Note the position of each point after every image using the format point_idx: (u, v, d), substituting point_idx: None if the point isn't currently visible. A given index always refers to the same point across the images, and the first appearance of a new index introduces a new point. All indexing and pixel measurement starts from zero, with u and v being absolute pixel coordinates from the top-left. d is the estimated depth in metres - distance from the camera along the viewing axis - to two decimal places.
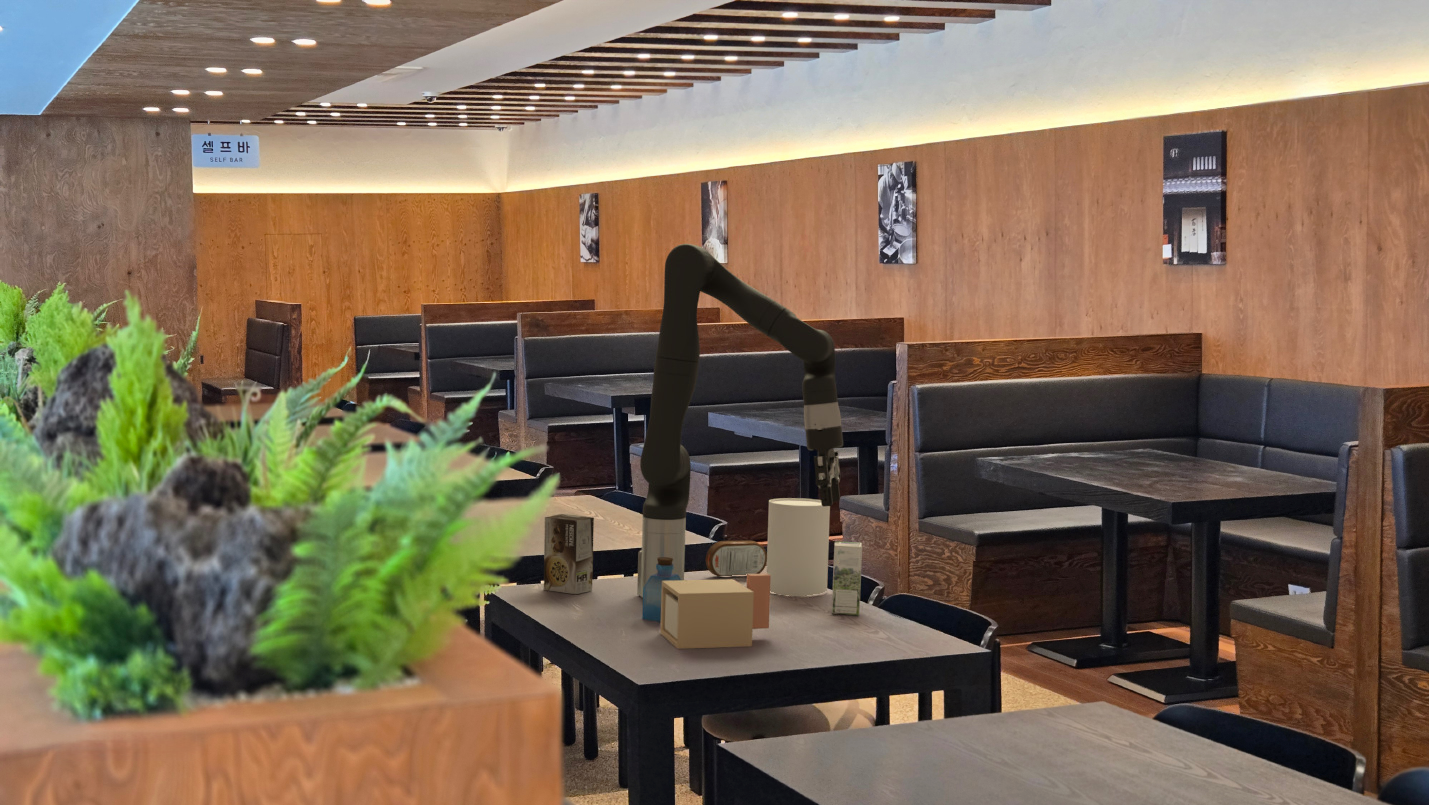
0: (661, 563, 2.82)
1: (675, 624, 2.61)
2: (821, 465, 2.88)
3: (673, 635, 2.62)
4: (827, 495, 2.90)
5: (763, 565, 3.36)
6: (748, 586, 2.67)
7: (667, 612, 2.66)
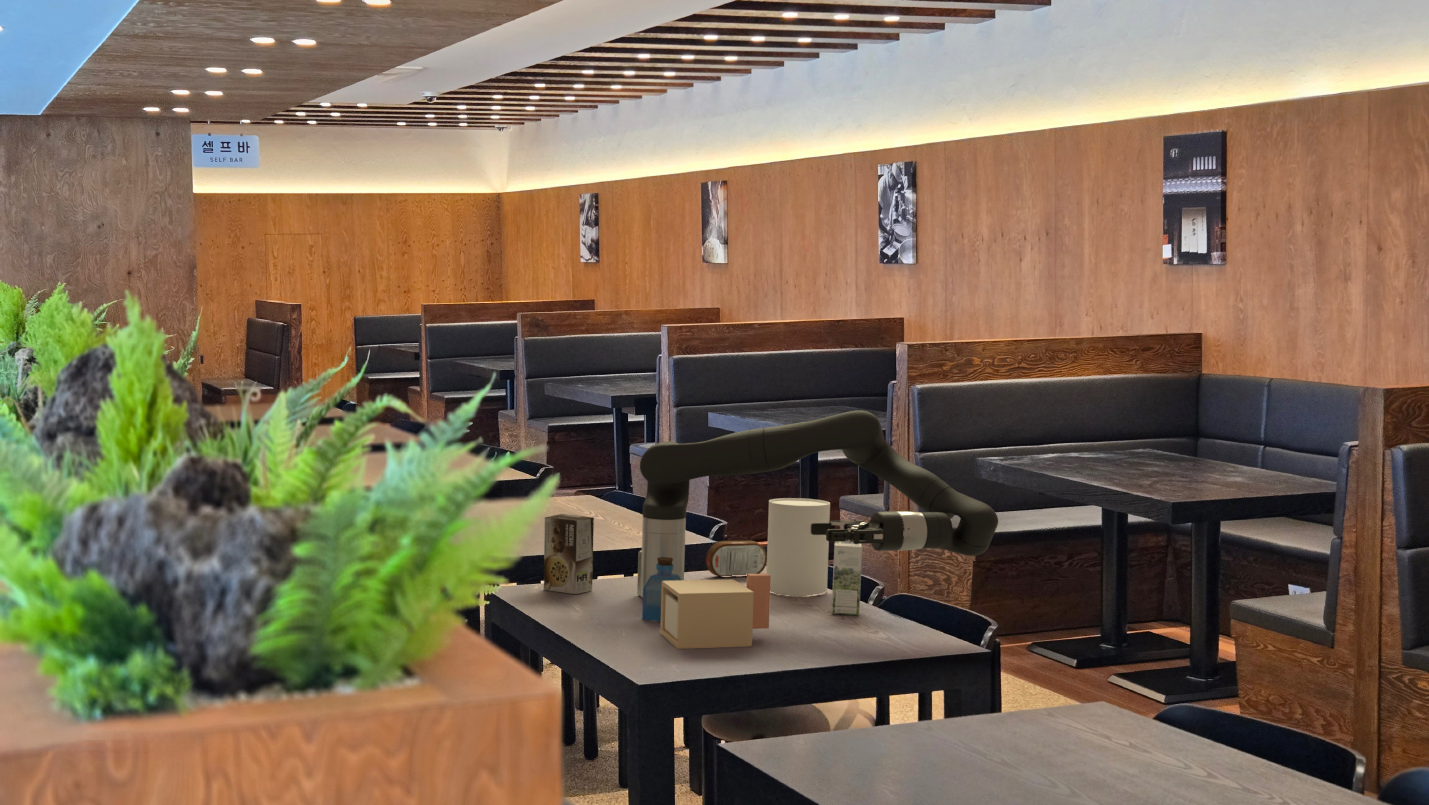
0: (661, 563, 2.82)
1: (675, 624, 2.61)
2: (874, 537, 2.66)
3: (673, 635, 2.62)
4: (839, 538, 2.66)
5: (763, 565, 3.36)
6: (748, 586, 2.67)
7: (667, 612, 2.66)
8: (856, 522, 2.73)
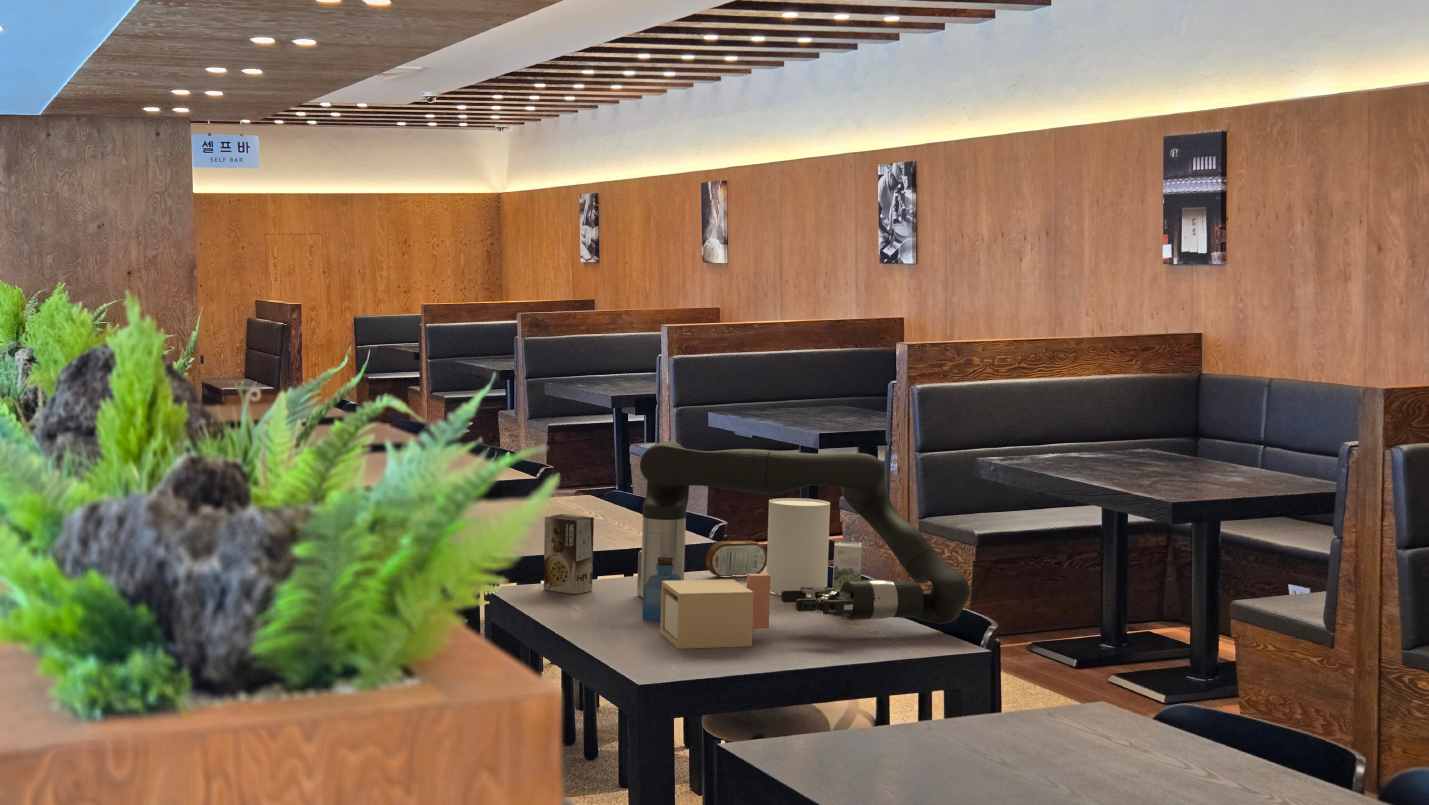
0: (661, 563, 2.82)
1: (675, 624, 2.61)
2: (844, 608, 2.65)
3: (673, 635, 2.62)
4: (809, 608, 2.65)
5: (763, 565, 3.36)
6: (748, 586, 2.67)
7: (667, 612, 2.66)
8: (827, 590, 2.73)
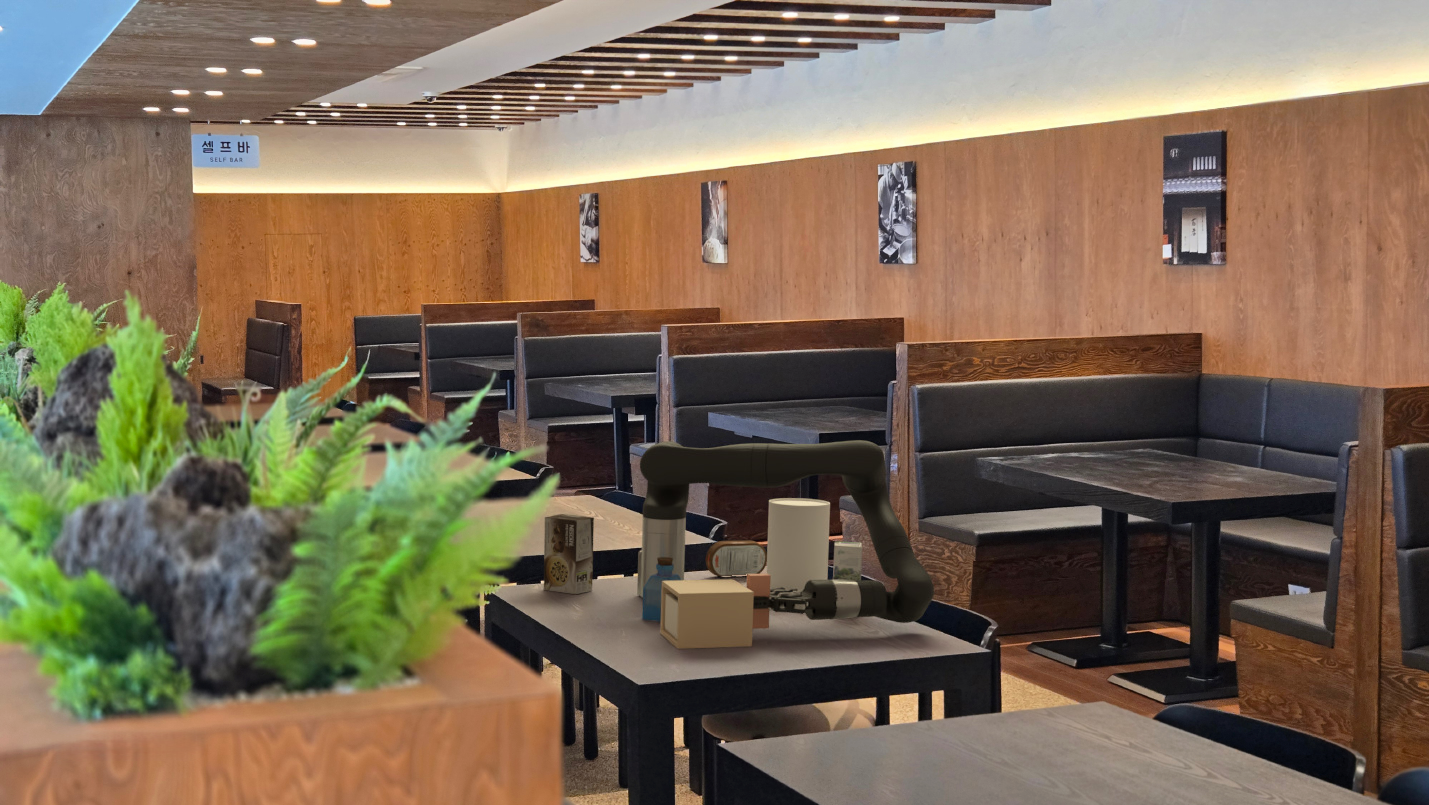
0: (661, 563, 2.82)
1: (675, 624, 2.61)
2: (794, 607, 2.64)
3: (673, 635, 2.62)
4: (760, 606, 2.65)
5: (763, 565, 3.36)
6: (748, 586, 2.67)
7: (667, 612, 2.66)
8: (791, 591, 2.70)
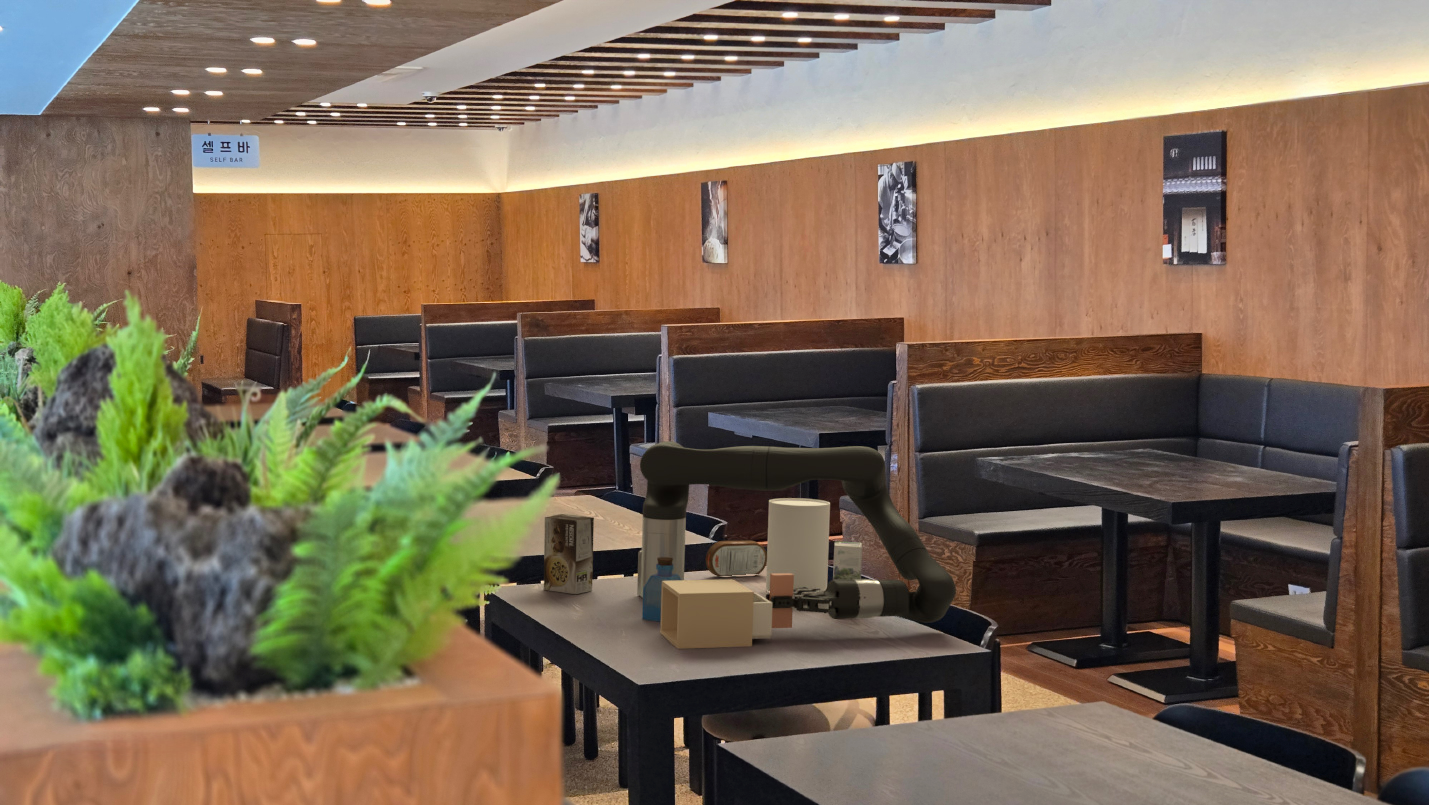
0: (661, 563, 2.82)
1: None
2: (818, 606, 2.65)
3: None
4: (783, 605, 2.66)
5: (763, 565, 3.36)
6: (771, 586, 2.68)
7: None
8: (814, 590, 2.71)
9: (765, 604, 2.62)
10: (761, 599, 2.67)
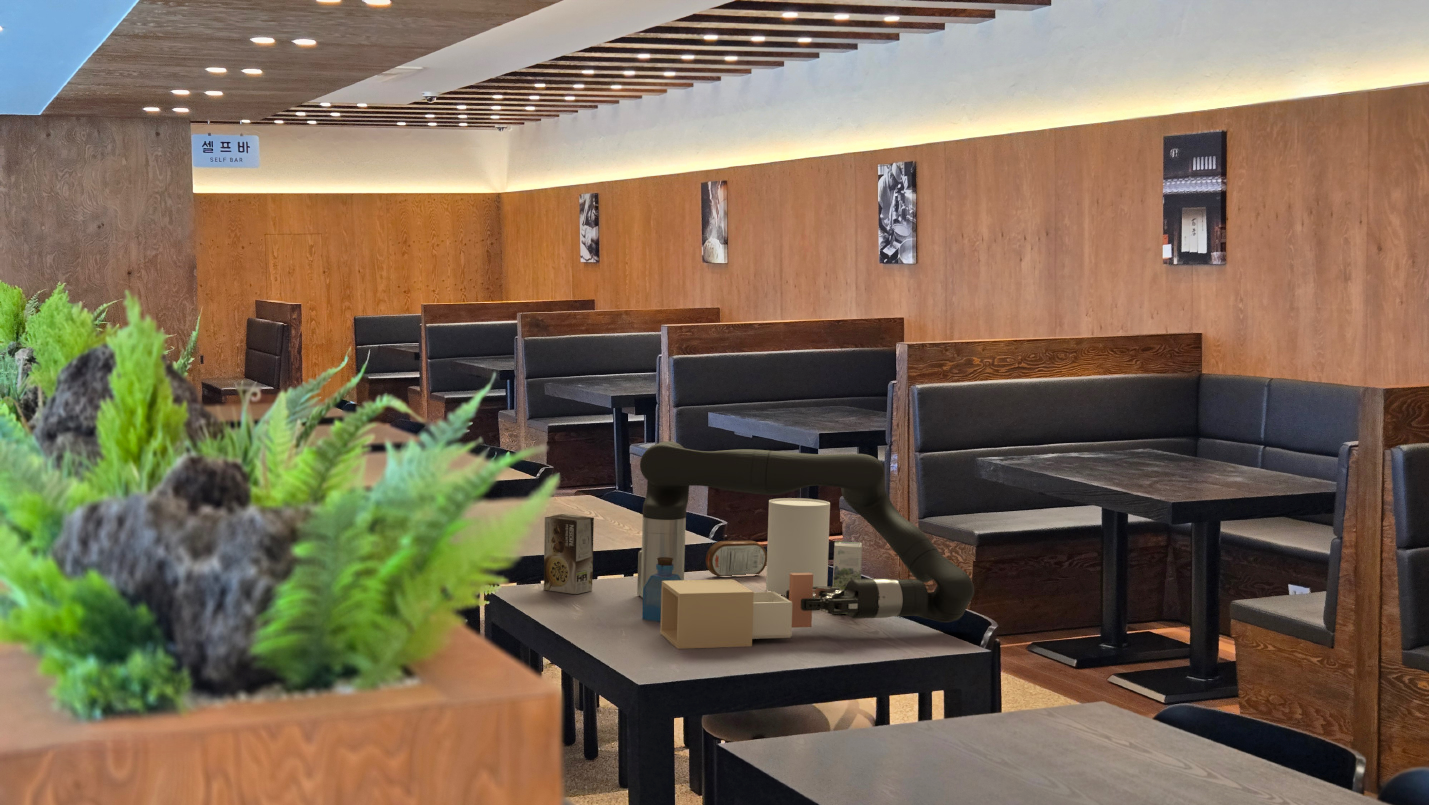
0: (661, 563, 2.82)
1: None
2: (849, 607, 2.65)
3: None
4: (814, 607, 2.65)
5: (763, 565, 3.36)
6: (791, 585, 2.69)
7: None
8: (831, 589, 2.73)
9: (785, 604, 2.63)
10: (781, 599, 2.68)
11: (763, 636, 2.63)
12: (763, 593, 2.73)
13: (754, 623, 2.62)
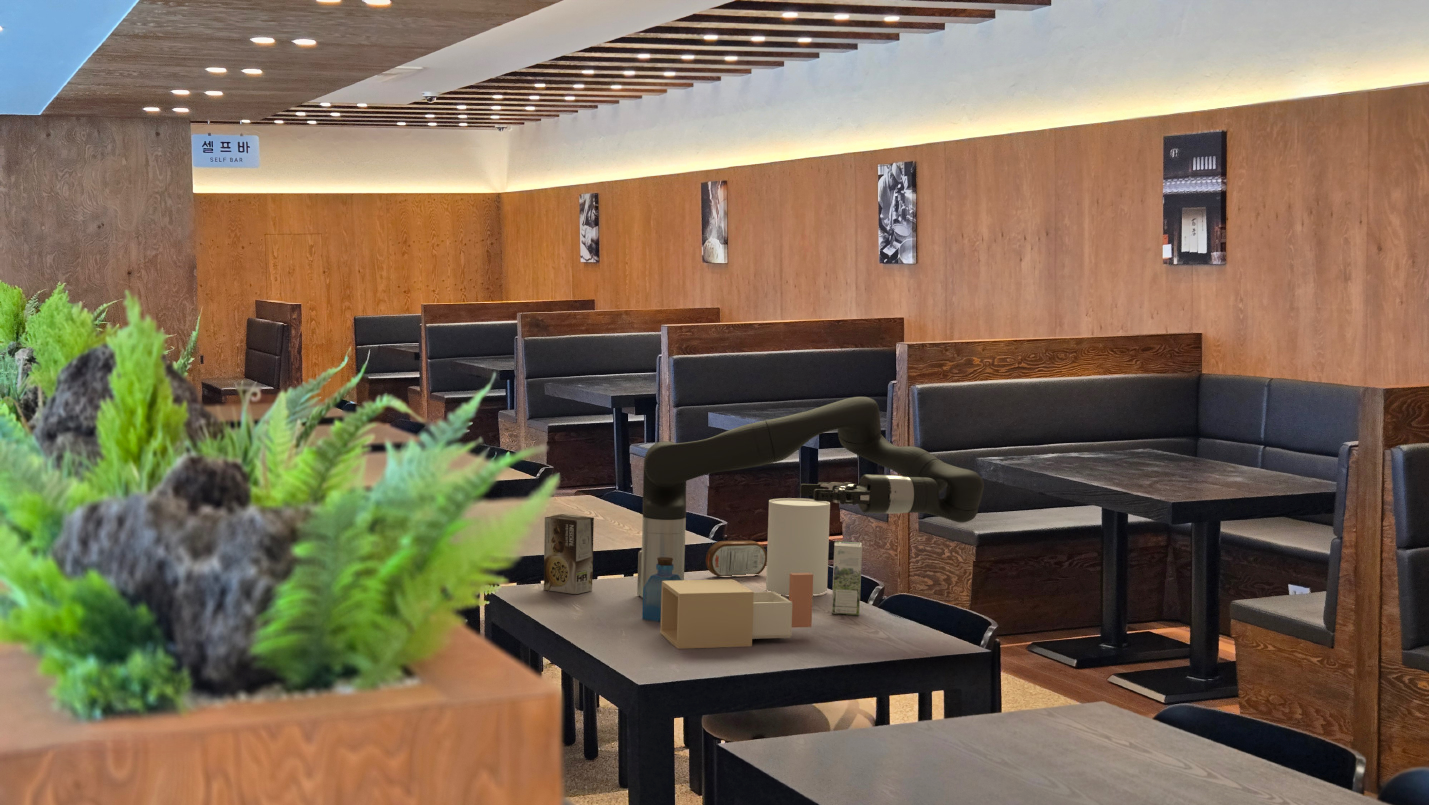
0: (661, 563, 2.82)
1: None
2: (860, 498, 2.72)
3: None
4: (826, 498, 2.72)
5: (763, 565, 3.36)
6: (791, 585, 2.69)
7: None
8: (844, 484, 2.79)
9: (785, 604, 2.63)
10: (781, 599, 2.68)
11: (763, 636, 2.63)
12: (763, 593, 2.73)
13: (754, 623, 2.62)
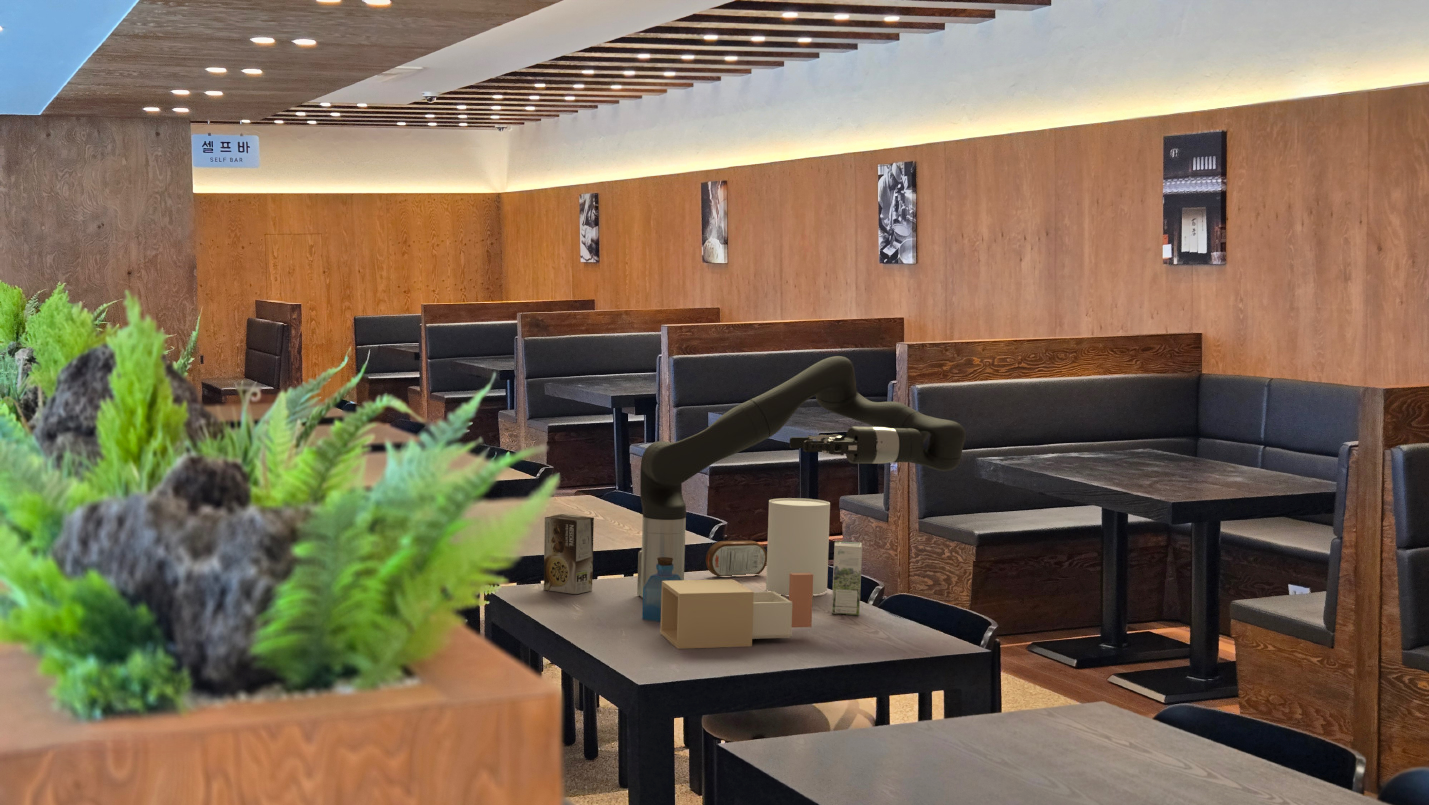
0: (661, 563, 2.82)
1: None
2: (848, 448, 2.83)
3: None
4: (816, 449, 2.82)
5: (763, 565, 3.36)
6: (791, 585, 2.69)
7: None
8: (832, 436, 2.90)
9: (785, 604, 2.63)
10: (781, 599, 2.68)
11: (763, 636, 2.63)
12: (763, 593, 2.73)
13: (754, 623, 2.62)
